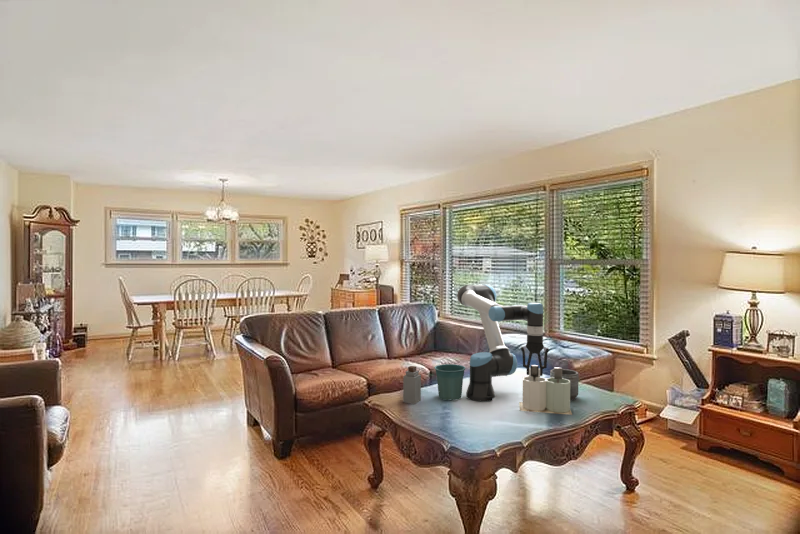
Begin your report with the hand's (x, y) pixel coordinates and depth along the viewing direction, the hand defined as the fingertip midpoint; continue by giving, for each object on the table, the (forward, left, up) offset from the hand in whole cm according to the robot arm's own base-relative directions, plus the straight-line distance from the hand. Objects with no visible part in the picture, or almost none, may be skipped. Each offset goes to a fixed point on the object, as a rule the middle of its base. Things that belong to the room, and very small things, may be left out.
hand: (534, 381), depth 232 cm
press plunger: (0, 0, -8) cm, 8 cm away
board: (+5, 0, -14) cm, 15 cm away
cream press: (0, +2, -13) cm, 13 cm away
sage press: (+11, +2, -13) cm, 17 cm away
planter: (+16, +21, -14) cm, 30 cm away
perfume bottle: (-61, -2, -14) cm, 63 cm away
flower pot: (-43, +10, -14) cm, 46 cm away
